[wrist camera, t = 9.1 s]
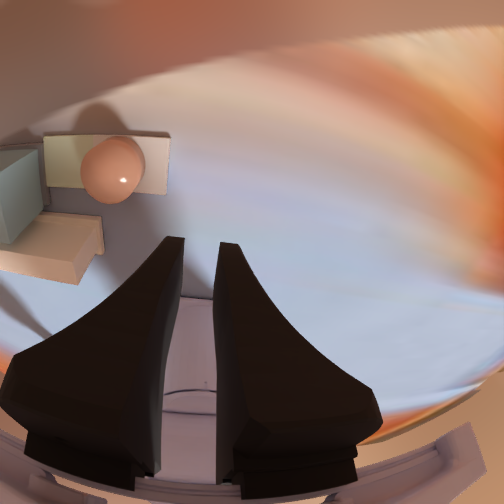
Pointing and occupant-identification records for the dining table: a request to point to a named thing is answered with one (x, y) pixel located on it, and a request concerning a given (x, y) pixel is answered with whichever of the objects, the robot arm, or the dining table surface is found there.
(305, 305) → the dining table surface
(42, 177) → the pad
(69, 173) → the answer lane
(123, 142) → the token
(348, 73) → the dining table surface
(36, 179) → the blue-grey cube
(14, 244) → the tan rectangular block
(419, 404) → the dining table surface
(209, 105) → the dining table surface
